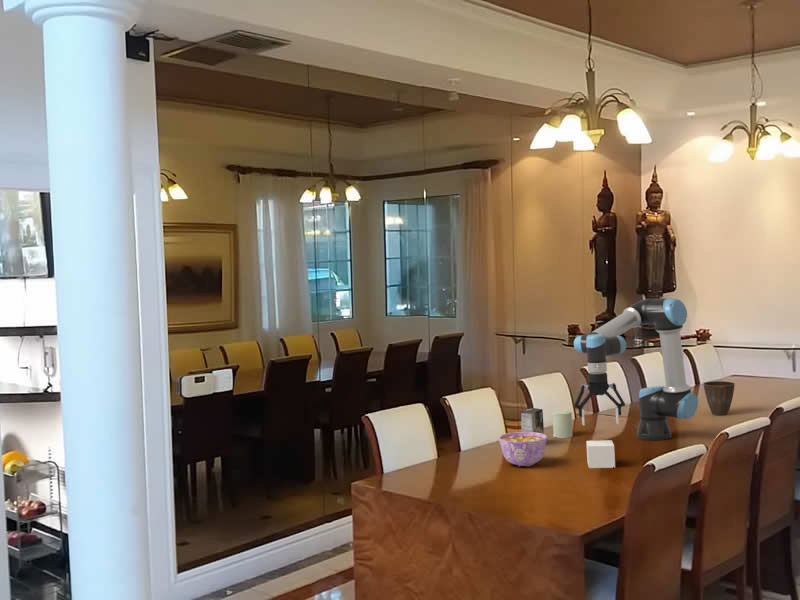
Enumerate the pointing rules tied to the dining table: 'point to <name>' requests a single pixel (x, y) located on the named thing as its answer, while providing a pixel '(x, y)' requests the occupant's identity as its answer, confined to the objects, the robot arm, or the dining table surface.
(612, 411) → the dining table surface
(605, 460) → the white rounded cube
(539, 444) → the bowl of food
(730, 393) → the plant pot
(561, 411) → the can
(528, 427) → the coffee box
